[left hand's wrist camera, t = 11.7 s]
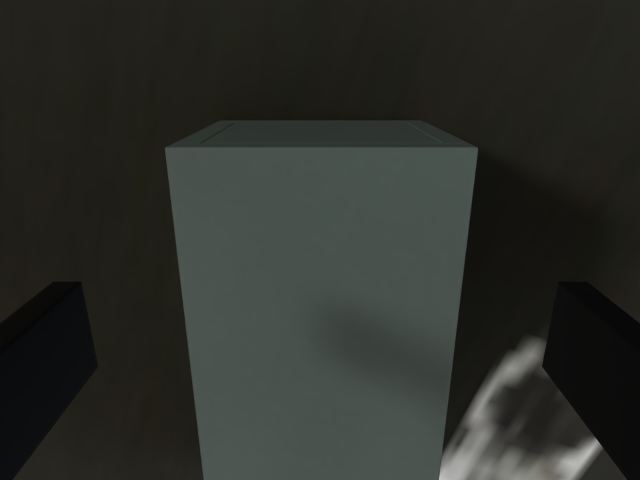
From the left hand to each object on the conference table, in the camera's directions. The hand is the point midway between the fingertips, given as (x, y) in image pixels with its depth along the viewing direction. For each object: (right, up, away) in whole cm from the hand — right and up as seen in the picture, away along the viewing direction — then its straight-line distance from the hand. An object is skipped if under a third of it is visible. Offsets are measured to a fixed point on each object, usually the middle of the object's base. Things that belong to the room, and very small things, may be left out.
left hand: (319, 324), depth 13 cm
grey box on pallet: (0, +1, +16) cm, 16 cm away
